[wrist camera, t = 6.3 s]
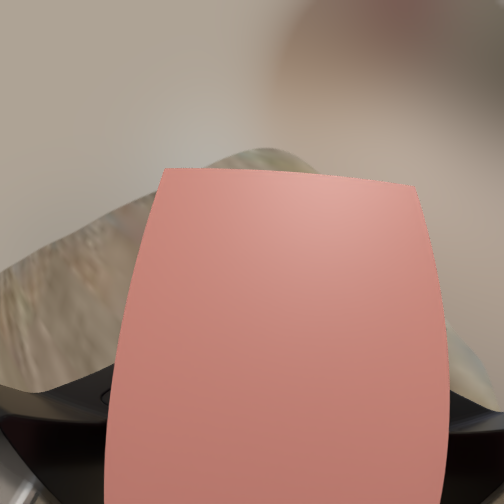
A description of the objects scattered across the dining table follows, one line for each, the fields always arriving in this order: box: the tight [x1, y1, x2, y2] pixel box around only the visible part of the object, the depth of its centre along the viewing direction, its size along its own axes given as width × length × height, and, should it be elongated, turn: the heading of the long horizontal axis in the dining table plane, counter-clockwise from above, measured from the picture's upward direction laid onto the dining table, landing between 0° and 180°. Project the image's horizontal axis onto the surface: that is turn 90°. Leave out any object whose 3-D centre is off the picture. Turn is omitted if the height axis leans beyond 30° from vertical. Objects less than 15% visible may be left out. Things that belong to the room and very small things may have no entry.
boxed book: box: [104, 168, 450, 504], centre depth 9 cm, size 5×4×12 cm
